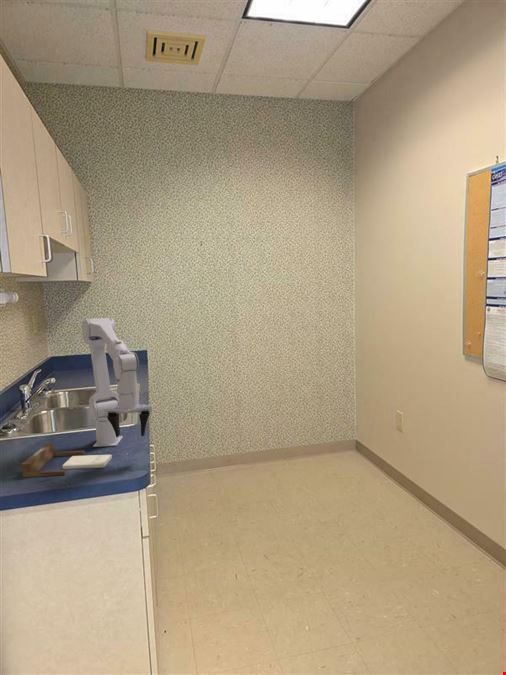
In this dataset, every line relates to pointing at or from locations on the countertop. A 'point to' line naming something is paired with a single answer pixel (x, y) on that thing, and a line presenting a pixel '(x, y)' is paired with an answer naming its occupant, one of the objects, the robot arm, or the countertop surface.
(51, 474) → the dock
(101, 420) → the robot arm
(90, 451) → the countertop surface
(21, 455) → the countertop surface
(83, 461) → the external hard drive
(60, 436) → the countertop surface
